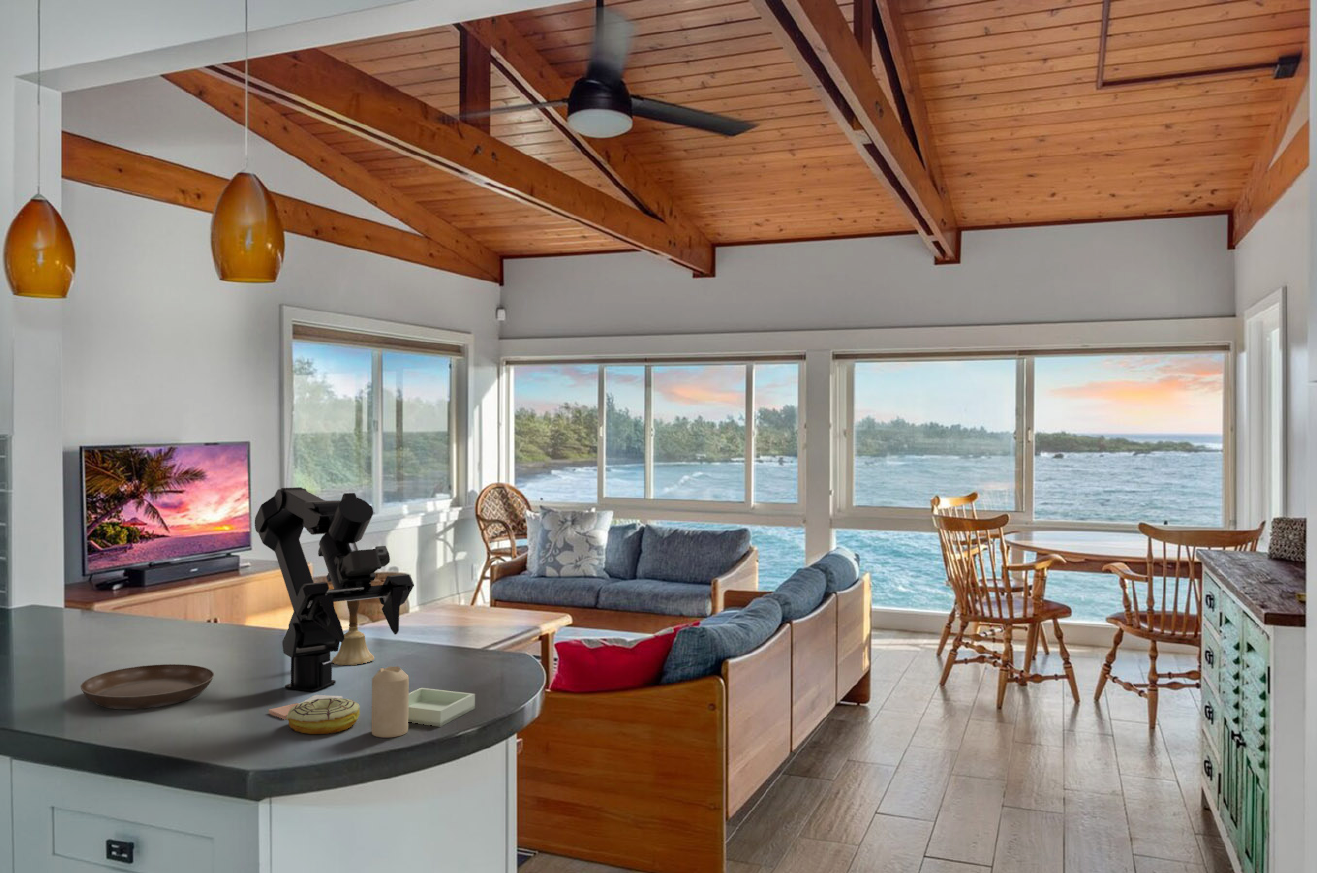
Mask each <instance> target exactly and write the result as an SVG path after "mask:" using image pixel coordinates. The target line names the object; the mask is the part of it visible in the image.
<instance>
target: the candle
mask: <svg viewBox="0 0 1317 873" xmlns="http://www.w3.org/2000/svg"><path fill="white" fill-rule="evenodd" d="M409 680H410V678H409V675H408V674H407V673H406V672H405V671H404V670H403V669H402V668H401V667H399V666H388V667H386V668H384V667H381V668H379V670H378V671H377V672H376V673H375V674H374V675H373V676H372V678H371V735H372V736H374V737H377V738H384V739H385V738H396V737H397V738H398V737H401V736H403V735H405V734H407V733H408V732H409V723H408V702H409V693H410V691H409V688H410V686H409V685H410V684H409V682H410V681H409Z"/></svg>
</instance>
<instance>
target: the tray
mask: <svg viewBox="0 0 1317 873" xmlns="http://www.w3.org/2000/svg"><path fill="white" fill-rule="evenodd" d="M475 709H476V693H472V692H462V691H454V690H453V691H452V690H451V691H450V690H443V689H437V688H435V689H434V688H427V687H420V688H418V689H415V690H413V691H411V692H410V691H409V702H408V722H412V723H411V724H415V723H418V724H417V725H423V724H424V725H423V726H430V725H432V727H440V728H441V727H443V726H444V725H446V724H448V723H451V722H453V721H454V720H456V719H458V718H460V717H462V716H463V715H466V714H467V713H470V712H472V711H473V710H475Z"/></svg>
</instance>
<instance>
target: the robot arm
mask: <svg viewBox="0 0 1317 873" xmlns="http://www.w3.org/2000/svg"><path fill="white" fill-rule="evenodd" d="M373 515H374V509H373V506H372V505H371V504H370V503H368V502H367V501H366V500H364V499H362V498H359V497H357V495H356V493H355V492H348V493H346V492H345V493H343V495H342V496H341V500H325V499H323V498H321V497H319V496H318V495H315V494H313V493H310V492H309V491H307V489H306V488H303V487H281V488H280V489H279V488H278V489H277V490H276V492H275V494H274V496H272V497H271V498H269V499H268V500H267V501H265V502H263V503H262V504H261V505H260V506H259V509H258V510H257V513H256V515H255V517H254V529H255V531H256V533H258V536H259V538H260V541H261V543H262V544H263V545H264V546H266V547H268V548H269V549H270V550H272V551H273V552H274V553H275V556H276V559H277V562H278V565H279V568H280V572H281V575H282V576H281V577H282V578H283V581H284V585H285V588H286V591H287V594H288V596H289V600H290V604H291V606H292V610H293V612H292V614H291V618H290V621H289V623H288V628H287V630H286V633H285V634H284V637H283V640H282V642H281V644H282V653H283V655H285V656H287V657H290V683H288V684H285V685H284V689H288V690H297V691H305V692H316V691H319V690H321V689H324V688H327V687H329V686H330V687H331V686H332V685H334V684H336V682H337V681H336V680H334V679H333V663H332V660H331V652H334V653H335V652H339V648H340V644H341V642H343V641H344V634H345V633H344V630H343V627H342V624H341V621H340V619H339V616H338V613H337V612H336V608H335V603H336V602H344V601H346V602H347V601H354V600H360V601H362V600H369V599H378V600H379V601H380V604H381V605H383V606H382V608H381V611H382V613H383V615H384V617H385V620H386V621H387V624H388V626H389V628H390V630H391V632H392V633H393V634H394V635H398V634H399V630H400V607H401V606H402V605H403V604H406V601H407V599H408V597H409V596H410V595H411V594H410V593H411V592H412V590H413V588H414V587H415V584H414V581H413V578H412V577H411V575H409V574H406V573H404V574H394V575H391V574H390V575H387V576H386V578H385V579H384V582H383V583H382V584H381V585H380V584H378V585H372V583H371V582H372V581H375V579H376V577H377V576H376V573H375V572H376V571H378V570H380V569H382V567H384V568H385V566H387V565H389V563H390V562H391V558H390V557H391V556H390V553H389V551H388V549H387V546H386V545H379V546H375V548H371V549H360V550H359V548H358V545H357V543H358V542H360V541H361V540H363V537H364V534H365V532H366V530H367V528H368V526H369V524H370V522H371V520H372V517H373ZM304 529H305V530H307V532H308V533H309V534H310V535H311V536H313V535H322V536H321V538H320V540H319V543H318V546H319V548H318V550H317V551H318V552H317V555H318V557H323V561H324V563H325V565H326V570H327V575H326V580H327V582H326V581H321V582H314V579H313V576H312V573H311V570H310V568H309V567H310V566H309V564H308V561H307V559H306V556H305V553H304V550H303V547H302V543H301V540H300V538H301V536H302V533H303V530H304ZM328 582H329V583H330V582H331V584H332V587H333V588H330V586H329V584H328ZM334 602H335V603H334Z"/></svg>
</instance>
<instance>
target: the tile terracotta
mask: <svg viewBox="0 0 1317 873" xmlns="http://www.w3.org/2000/svg"><path fill="white" fill-rule="evenodd" d="M298 704H300V703H298V702H296V703H291V704H287V705H282V706H279V707H274V708H269V709H268V714H269V715H271V716H273V717H276V716H277V717H276V718H278V717H279V718H278V719H281V718H282V720H283V719H284V721H285V719H286V720H287V715H288V712H289V711H290V709H291V708H292V707H294V706H296V705H298Z"/></svg>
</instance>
